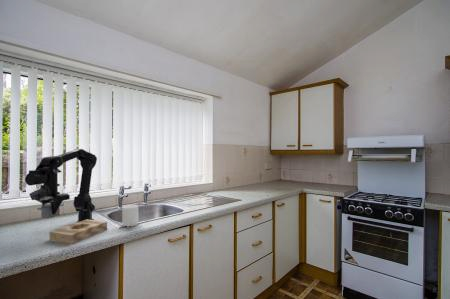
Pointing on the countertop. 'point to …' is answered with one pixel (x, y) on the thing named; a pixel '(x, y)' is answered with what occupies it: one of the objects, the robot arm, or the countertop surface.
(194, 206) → the countertop surface
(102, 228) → the chassis board
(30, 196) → the robot arm
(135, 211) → the mug
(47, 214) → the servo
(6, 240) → the countertop surface
